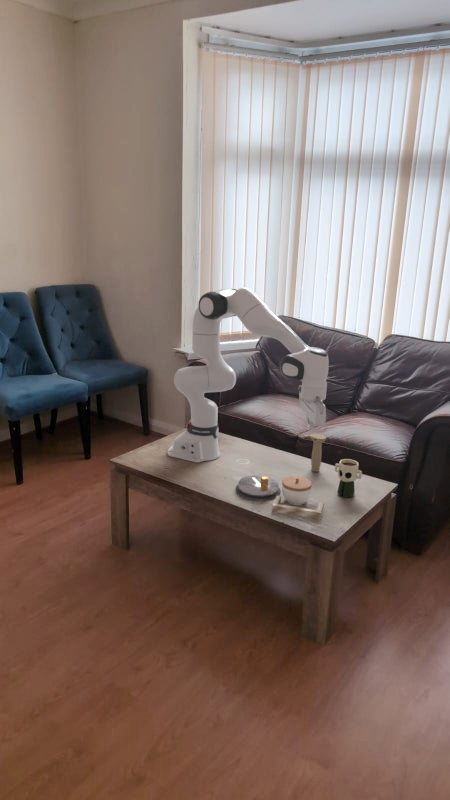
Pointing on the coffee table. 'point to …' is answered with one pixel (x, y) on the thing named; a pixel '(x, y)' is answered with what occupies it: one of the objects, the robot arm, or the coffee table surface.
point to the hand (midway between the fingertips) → (310, 428)
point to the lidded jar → (296, 489)
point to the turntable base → (257, 498)
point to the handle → (316, 451)
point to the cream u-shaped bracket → (297, 510)
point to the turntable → (258, 486)
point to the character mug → (347, 476)
